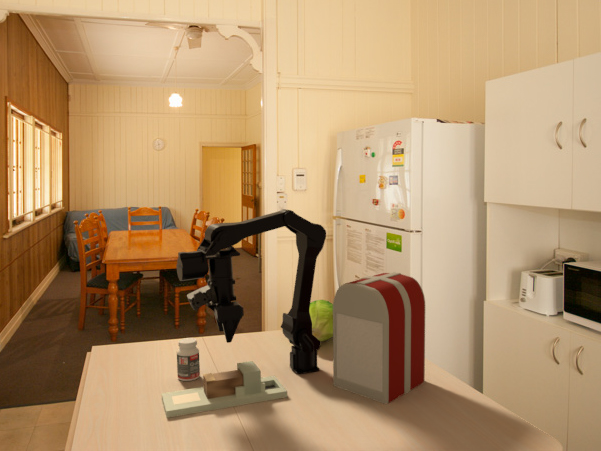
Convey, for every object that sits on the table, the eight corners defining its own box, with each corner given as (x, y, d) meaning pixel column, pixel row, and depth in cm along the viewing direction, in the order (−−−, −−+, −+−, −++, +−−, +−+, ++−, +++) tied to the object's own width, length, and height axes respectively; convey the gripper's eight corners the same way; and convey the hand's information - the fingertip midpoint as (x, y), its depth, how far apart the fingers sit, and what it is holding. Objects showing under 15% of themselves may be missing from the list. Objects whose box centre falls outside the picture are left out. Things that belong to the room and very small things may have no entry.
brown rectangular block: (252, 383, 131) (252, 366, 130) (257, 390, 127) (257, 373, 126) (203, 391, 127) (203, 374, 126) (207, 398, 123) (206, 381, 122)
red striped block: (426, 381, 135) (427, 276, 132) (387, 404, 122) (387, 288, 119) (372, 365, 146) (372, 268, 143) (331, 385, 133) (330, 278, 130)
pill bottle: (194, 382, 136) (193, 344, 135) (174, 381, 137) (172, 343, 136) (203, 373, 141) (201, 337, 140) (183, 372, 143) (181, 336, 141)
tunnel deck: (274, 381, 136) (274, 355, 135) (287, 397, 126) (287, 369, 126) (161, 399, 126) (160, 371, 125) (166, 417, 117) (165, 388, 116)
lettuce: (291, 352, 157) (290, 313, 156) (304, 328, 179) (303, 294, 178) (335, 354, 155) (334, 315, 153) (342, 330, 177) (342, 295, 176)
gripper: (183, 271, 137) (187, 330, 139) (193, 287, 120) (198, 354, 122) (225, 267, 141) (229, 324, 143) (242, 281, 123) (246, 346, 125)
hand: (225, 336), depth 133 cm, fingers open, 9 cm apart
